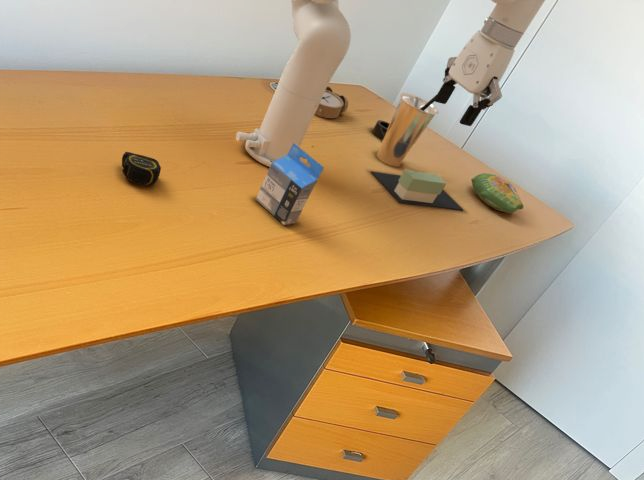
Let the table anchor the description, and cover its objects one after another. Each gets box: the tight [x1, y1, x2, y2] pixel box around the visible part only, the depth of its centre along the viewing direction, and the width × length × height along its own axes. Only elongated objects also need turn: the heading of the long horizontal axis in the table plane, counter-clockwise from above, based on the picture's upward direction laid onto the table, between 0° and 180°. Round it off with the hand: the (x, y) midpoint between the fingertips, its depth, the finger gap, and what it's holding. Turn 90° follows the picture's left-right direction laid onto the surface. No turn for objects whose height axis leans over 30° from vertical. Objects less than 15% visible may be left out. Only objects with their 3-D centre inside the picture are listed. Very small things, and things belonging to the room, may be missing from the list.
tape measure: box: [121, 151, 162, 186], centre depth 126 cm, size 7×7×4 cm
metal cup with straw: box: [376, 92, 440, 168], centre depth 167 cm, size 11×11×30 cm
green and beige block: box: [394, 169, 447, 203], centre depth 161 cm, size 10×4×6 cm, turn 109°
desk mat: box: [370, 170, 464, 212], centre depth 167 cm, size 20×13×1 cm, turn 109°
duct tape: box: [371, 119, 390, 141], centre depth 188 cm, size 8×10×3 cm
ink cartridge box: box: [255, 143, 325, 226], centre depth 132 cm, size 9×4×12 cm, turn 37°
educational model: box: [470, 172, 524, 214], centre depth 176 cm, size 13×16×6 cm
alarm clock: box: [314, 85, 349, 119], centre depth 189 cm, size 11×5×15 cm
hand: (451, 113), depth 149 cm, fingers open, 9 cm apart
